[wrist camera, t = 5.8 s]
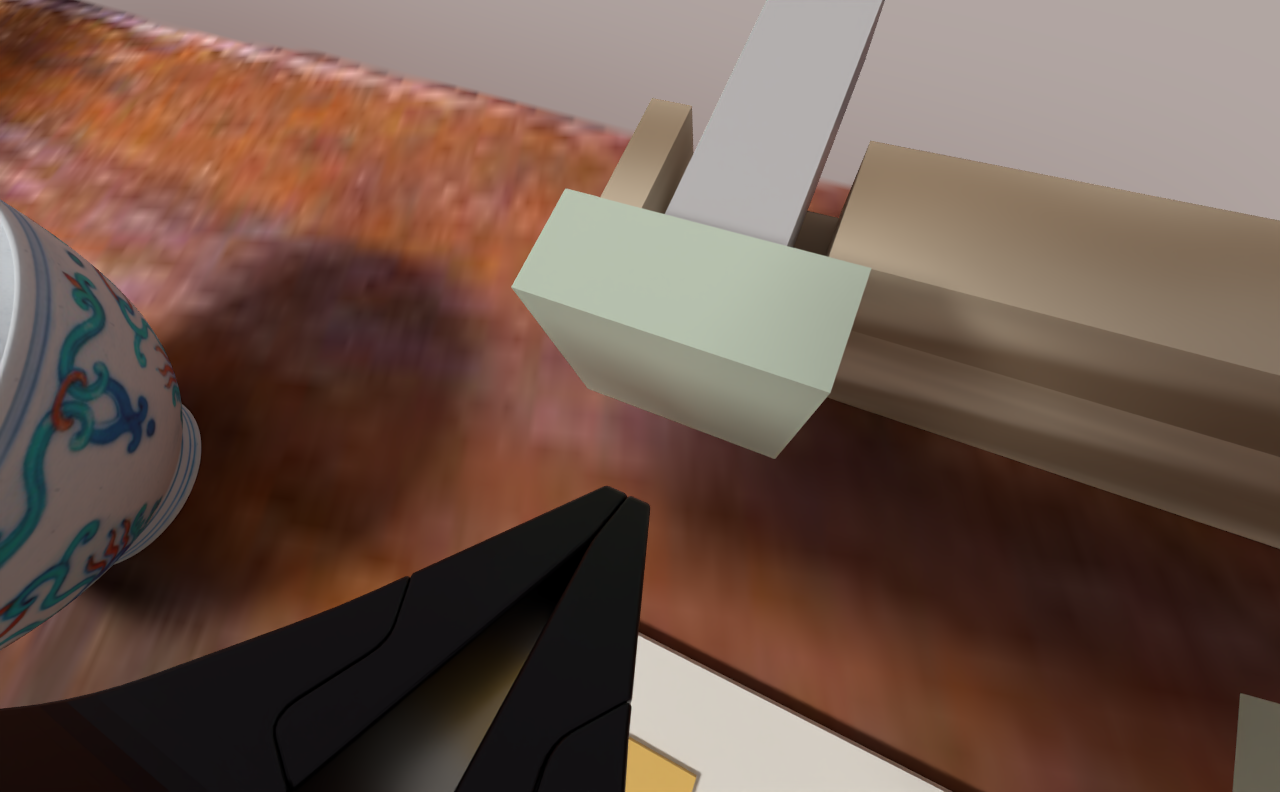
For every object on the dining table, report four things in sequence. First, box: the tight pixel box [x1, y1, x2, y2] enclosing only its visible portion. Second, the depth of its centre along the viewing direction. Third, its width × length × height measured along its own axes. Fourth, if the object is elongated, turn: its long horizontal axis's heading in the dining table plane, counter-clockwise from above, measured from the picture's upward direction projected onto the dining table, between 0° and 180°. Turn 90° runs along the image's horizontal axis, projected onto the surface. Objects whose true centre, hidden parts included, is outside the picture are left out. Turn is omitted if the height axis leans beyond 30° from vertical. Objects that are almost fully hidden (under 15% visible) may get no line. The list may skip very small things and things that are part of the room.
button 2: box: [512, 0, 885, 459], centre depth 10 cm, size 11×5×5 cm, turn 157°
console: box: [600, 98, 1280, 549], centre depth 11 cm, size 3×20×7 cm, turn 67°
